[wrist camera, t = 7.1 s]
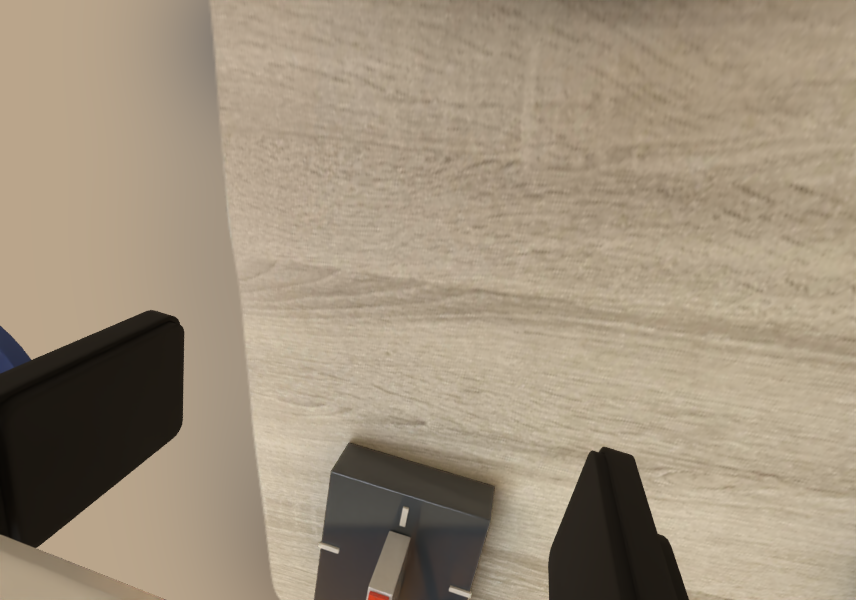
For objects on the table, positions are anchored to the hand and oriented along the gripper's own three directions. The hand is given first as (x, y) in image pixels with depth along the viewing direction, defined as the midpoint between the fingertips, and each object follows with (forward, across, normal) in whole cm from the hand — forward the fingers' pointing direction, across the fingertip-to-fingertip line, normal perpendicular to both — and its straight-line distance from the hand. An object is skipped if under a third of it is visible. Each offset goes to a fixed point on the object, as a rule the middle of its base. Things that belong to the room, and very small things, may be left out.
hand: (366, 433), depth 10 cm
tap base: (+17, 0, +20) cm, 26 cm away
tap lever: (+14, 0, +20) cm, 24 cm away
